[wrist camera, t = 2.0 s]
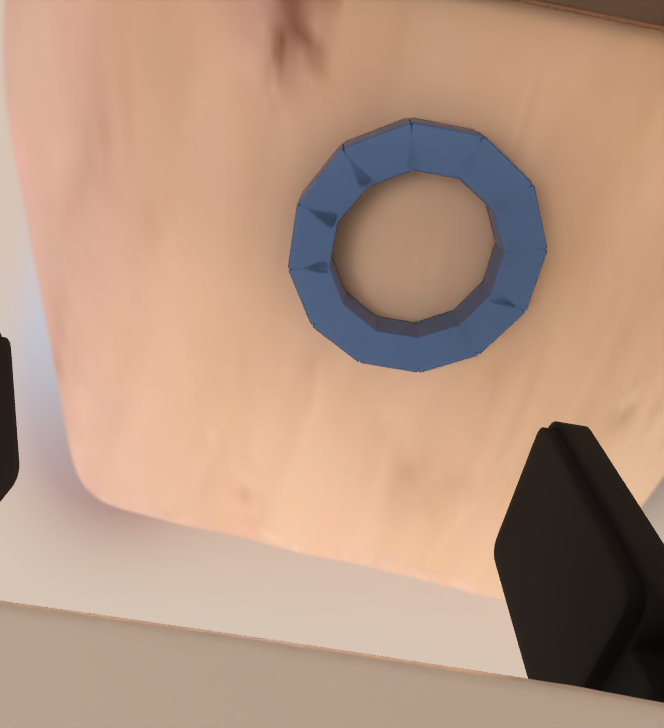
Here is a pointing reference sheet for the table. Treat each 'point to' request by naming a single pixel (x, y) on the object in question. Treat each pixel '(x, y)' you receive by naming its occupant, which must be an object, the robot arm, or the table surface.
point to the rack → (613, 10)
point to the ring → (482, 307)
